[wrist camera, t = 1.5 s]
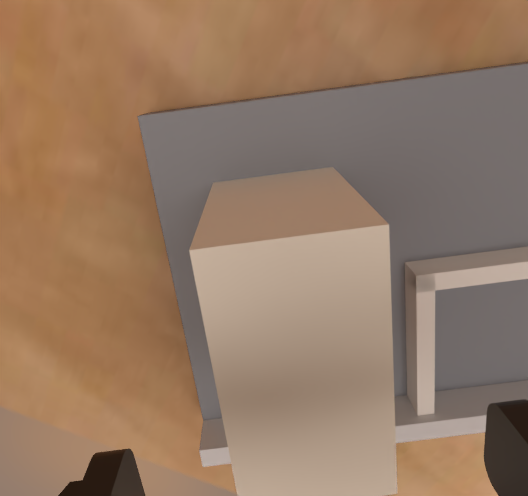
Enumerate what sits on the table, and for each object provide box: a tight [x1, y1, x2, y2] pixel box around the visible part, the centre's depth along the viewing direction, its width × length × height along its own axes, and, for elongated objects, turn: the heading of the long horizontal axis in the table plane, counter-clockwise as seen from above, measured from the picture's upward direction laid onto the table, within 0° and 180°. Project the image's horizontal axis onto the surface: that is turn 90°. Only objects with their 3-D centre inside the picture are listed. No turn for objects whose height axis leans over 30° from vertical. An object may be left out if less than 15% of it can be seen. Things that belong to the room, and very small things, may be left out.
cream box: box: [189, 167, 397, 496], centre depth 17 cm, size 9×5×8 cm, turn 7°
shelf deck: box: [138, 62, 528, 467], centre depth 20 cm, size 23×16×4 cm
